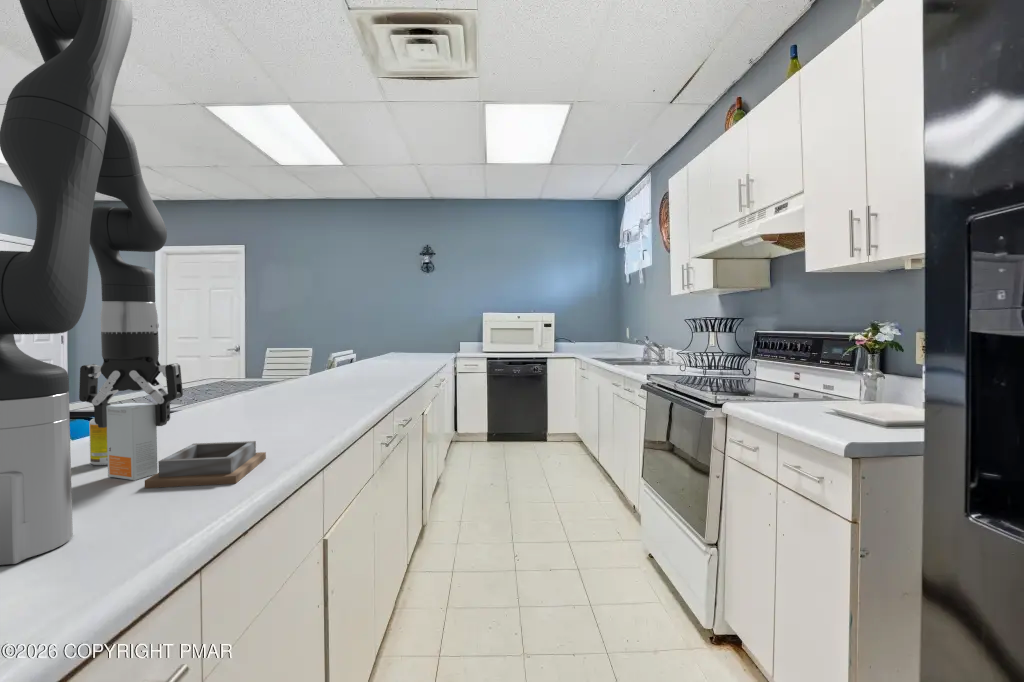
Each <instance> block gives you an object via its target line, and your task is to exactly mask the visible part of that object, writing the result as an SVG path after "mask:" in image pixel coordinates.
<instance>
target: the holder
mask: <svg viewBox="0 0 1024 682" xmlns="http://www.w3.org/2000/svg"><path fill="white" fill-rule="evenodd" d="M256 442H257V441H256V440H252V441H251V440H249V441H248V440H247V441H228V442H227V441H226V442H204V443H203V442H201V443H200V442H198V443H197V442H196V443H192V444H190V445H188V446H186V447H184V448H182V449H180V450H178V451H176V452H175V453H172V454H169V455H168V456H166V457H164V458H162V459H161V460H159V461H158V460H157V464H158V473H157V474H154V475H151V476H149V477H148V478H147V479H145V480H144V489H153V488H154V489H155V488H157V489H158V488H174V487H175V488H176V487H191V486H210V485H211V486H212V485H231V484H232V485H233V484H237V483H238V482H239V481H240V480H241V479H243V478H244V477H245V476H247V475H248V474H249V473H250V472H252V471H253V470H254V469H255V468H256V467H258V466H259V465H260V464H261V463H262V462H263V461H265V460H267V452H266V451H265V452H263V451H262V452H261V451H260V452H257V444H256Z"/></svg>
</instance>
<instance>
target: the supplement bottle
mask: <svg viewBox="0 0 1024 682" xmlns="http://www.w3.org/2000/svg"><path fill="white" fill-rule="evenodd" d="M88 425H89V427H88V428H89V431H88V432H89V460H90V464H91V465H94V466H108V458H107V427H105V428H99V427H98V424H96V423H95V419H94V418H92V419H90V420H89V424H88Z"/></svg>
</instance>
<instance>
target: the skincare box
mask: <svg viewBox="0 0 1024 682" xmlns="http://www.w3.org/2000/svg"><path fill="white" fill-rule="evenodd" d="M155 405H156V403H146V402H124V403H117V404H110V405H109V406H107V407H106V409H107V458H108V465H107V477H108V478H116V479H117V478H118V479H124V480H130V481H137V480H140V479H143V478H146V477H152V476H154V475H155V474H157V473H159V465H158V436H157V435H158V432H157V431H158V429H157V428H158V426H156V416H155Z"/></svg>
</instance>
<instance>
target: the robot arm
mask: <svg viewBox="0 0 1024 682" xmlns="http://www.w3.org/2000/svg"><path fill="white" fill-rule="evenodd" d="M18 1H19V3H20V6H21V9H22V12H23V14H24V17H25V19H26V22H27V24H28V27H29V29H30V31H31V34H32V36H33V38H34V40H35V43H36V46H37V47H38V50H39V53H40V55H41V57H42V60H43V62H44V63H42V64H41V65H40V66H38V67H37V68H35V69H33V70H32V71H31V72H29V73H28V74H27V75H26V76H24V77H23V78H22V79H20V81H18V83H16V85H14V86H13V88H12V90H11V92H10V93H9V95H8V98H7V101H6V104H5V105H6V106H5V109H4V112H3V118H2V121H1V124H0V153H1V154H2V156H3V159H4V160H5V162H6V164H7V166H8V167H9V169H10V171H11V172H12V174H13V176H14V177H15V178H16V180H17V181H18V183H19V185H21V187H22V189H23V190H24V192H25V193H26V194H27V196H28V198H29V200H30V201H31V203H32V205H33V207H34V211H35V216H36V230H35V231H36V232H35V237H34V242H33V246H32V248H30V251H22V250H0V566H4V565H14V564H18V563H20V562H22V561H25V560H26V559H29V558H31V557H36V556H37V555H41V554H44V553H47V552H49V551H53V550H55V549H56V548H58V547H61V546H62V545H65V544H66V543H68V542H69V541H70V540H71V539H72V538H73V535H74V533H73V532H74V531H73V528H74V527H73V501H72V500H73V497H72V496H73V495H72V494H73V491H72V459H71V457H72V456H71V431H70V430H71V426H70V424H71V423H70V422H71V421H70V392H69V390H70V384H69V383H70V381H69V380H70V379H69V373H68V371H67V370H66V369H65V368H64V367H62V366H59V365H56V364H52V363H49V362H46V361H43V360H40V359H36V358H35V357H32V356H30V355H28V354H27V353H25V352H24V351H22V350H21V349H20V348H19V347H18V345H17V342H16V340H15V335H53V334H54V335H58V334H64V333H67V332H68V331H71V330H72V329H73V328H75V327H76V325H77V324H78V322H80V320H81V318H82V315H83V312H84V308H85V304H86V299H87V292H88V281H89V263H90V261H89V260H90V247H91V250H92V252H93V255H94V258H95V261H96V264H97V268H98V271H99V275H100V280H101V281H100V283H101V287H100V288H101V301H102V302H101V311H100V335H101V336H100V339H101V341H100V342H101V356H102V360H103V363H102V365H98V364H96V363H91V364H85V365H84V364H83V365H82V366H80V368H79V392H78V393H79V394H78V395H79V396H78V397H79V398H78V399H79V401H80V402H82V403H84V402H85V403H89V404H91V405H93V413H94V416H93V417H94V419H95V423H96V424H98V427H99V428H105V427H107V409H106V407H107V406H109V405H111V403H110V401H111V400H112V398H113V397H114V395H116V394H117V393H118V392H124V391H125V392H126V391H129V390H130V391H137V392H138V391H144V392H145V394H147V395H149V396H150V397H152V399H153V400H154V402H156V403H157V404H156V403H155V404H156V405H155V416H156V426H157V427H164V426H166V425H167V423H168V422H169V421H170V420H171V403H172V401H174V400H177V399H179V398H182V397H183V395H184V392H183V391H184V390H183V384H182V383H183V381H182V372H181V365H180V364H179V363H169V364H161V363H160V360H159V355H160V348H159V346H160V345H159V328H160V327H159V326H160V325H159V317H158V312H157V311H158V310H157V306H156V303H157V302H156V279H155V275H154V271H153V270H151V269H150V268H148V267H144V266H140V265H134V264H129V263H127V262H125V260H123V258H122V257H121V254H120V252H139V253H153V252H154V253H155V252H158V251H160V250H161V249H162V248H163V247H164V246H165V244H166V242H167V239H168V232H167V230H168V229H167V226H166V224H165V221H164V220H163V217H162V215H161V213H160V211H159V210H158V208H157V207H156V205H155V203H154V201H153V199H152V197H151V195H150V193H149V191H148V189H147V186H146V184H145V182H144V178H143V175H142V170H141V166H140V165H141V164H140V161H139V156H138V151H137V148H136V147H137V146H136V144H135V140H134V137H133V136H132V132H131V131H130V129H129V127H127V125H126V123H125V121H123V119H122V118H121V117H120V115H119V114H118V112H116V110H115V109H114V108H113V107H112V103H113V102H112V101H113V96H114V92H115V88H116V83H117V80H118V77H119V74H120V70H121V67H122V65H123V61H124V58H125V55H126V52H127V49H128V46H129V44H130V38H131V35H132V27H133V8H132V0H18ZM96 193H98V194H101V195H104V196H108V197H112V198H115V199H117V200H120V201H121V202H122V203H123V204H125V206H126V207H120V206H119V207H116V206H96V207H94V204H95V199H96ZM161 373H162V376H163V377H165V379H166V380H165V381H166V388H167V390H166V388H165V386H164V385H163V383H162V382H161V381H160V380H159V379H158V376H159V375H160V374H161ZM101 374H102V376H103V377H104V378H105V379H106V381H105V382H104V383H103V384H102V385H101V387H100V388H99V387H98V386H99V385H98V383H99V382H98V381H99V378H100V376H101ZM98 388H99V389H98Z"/></svg>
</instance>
